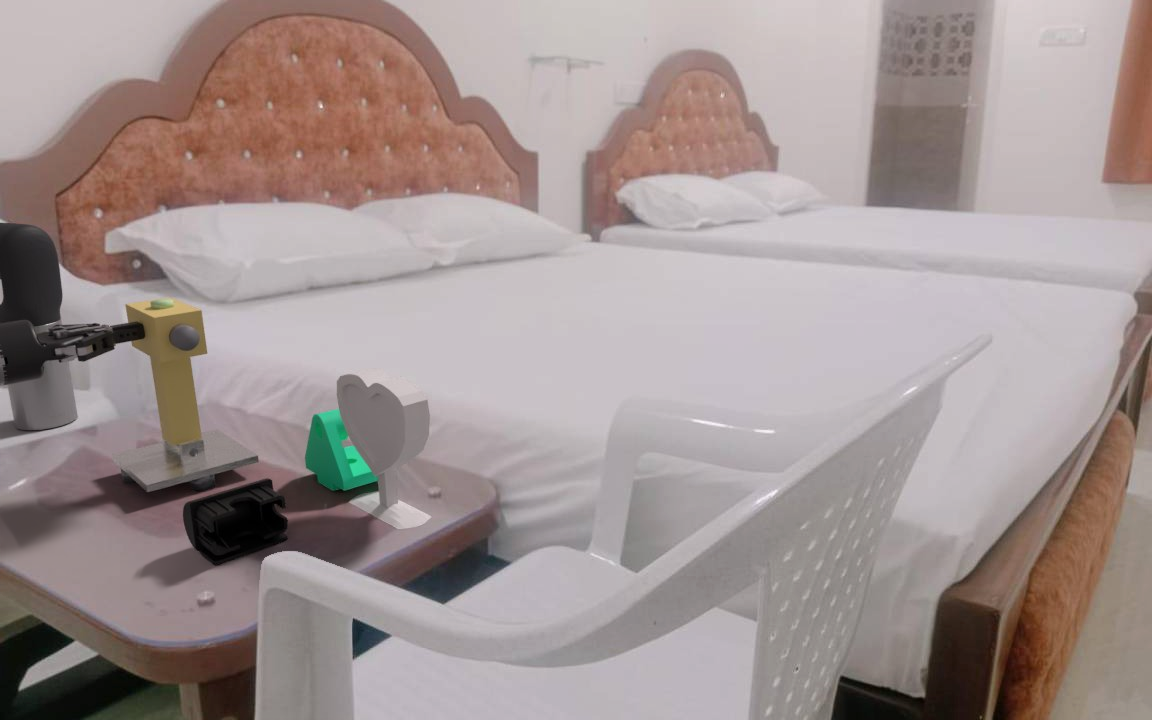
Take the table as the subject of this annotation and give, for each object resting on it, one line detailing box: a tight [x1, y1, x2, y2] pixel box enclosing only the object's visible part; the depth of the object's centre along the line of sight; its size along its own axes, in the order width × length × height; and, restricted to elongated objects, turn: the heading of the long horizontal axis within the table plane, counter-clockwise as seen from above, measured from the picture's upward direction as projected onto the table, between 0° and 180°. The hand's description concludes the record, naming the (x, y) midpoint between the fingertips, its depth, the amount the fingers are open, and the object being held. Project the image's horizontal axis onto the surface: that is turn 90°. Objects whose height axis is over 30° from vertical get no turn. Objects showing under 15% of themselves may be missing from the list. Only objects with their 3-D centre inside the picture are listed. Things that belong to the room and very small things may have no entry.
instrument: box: [124, 297, 208, 446], centre depth 123 cm, size 16×6×20 cm, turn 42°
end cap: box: [182, 477, 289, 566], centre depth 106 cm, size 10×7×7 cm
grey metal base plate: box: [111, 428, 259, 493], centre depth 127 cm, size 15×15×6 cm
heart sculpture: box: [336, 368, 433, 530], centre depth 113 cm, size 16×5×18 cm, turn 45°
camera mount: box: [304, 408, 378, 492], centre depth 123 cm, size 12×8×10 cm, turn 40°
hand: (142, 329), depth 119 cm, fingers closed
